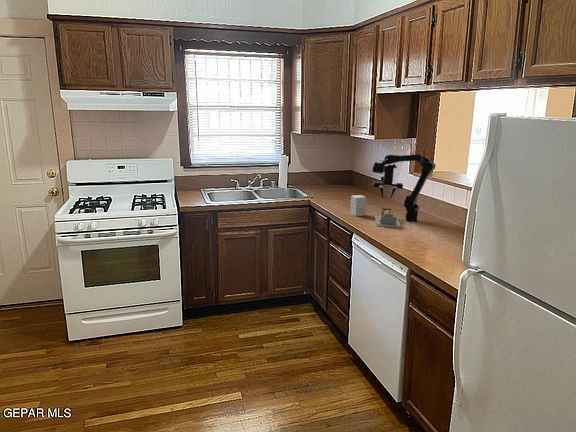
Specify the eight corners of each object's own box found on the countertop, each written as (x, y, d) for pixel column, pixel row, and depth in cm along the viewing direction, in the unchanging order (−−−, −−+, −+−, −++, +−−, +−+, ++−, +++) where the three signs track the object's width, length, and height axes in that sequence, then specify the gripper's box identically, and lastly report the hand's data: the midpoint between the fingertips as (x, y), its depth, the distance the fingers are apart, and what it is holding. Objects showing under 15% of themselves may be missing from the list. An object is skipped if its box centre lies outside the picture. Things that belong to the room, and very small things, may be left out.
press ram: (391, 215, 284) (392, 208, 283) (392, 218, 277) (393, 211, 276) (380, 215, 285) (380, 207, 284) (381, 218, 278) (381, 210, 276)
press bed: (396, 218, 285) (397, 209, 283) (400, 227, 263) (401, 217, 262) (374, 217, 286) (375, 208, 285) (376, 226, 265) (377, 216, 263)
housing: (392, 223, 267) (393, 212, 265) (383, 222, 267) (384, 211, 266) (391, 221, 271) (392, 210, 270) (383, 220, 272) (384, 209, 270)
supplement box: (359, 213, 296) (360, 194, 293) (365, 215, 289) (366, 197, 286) (349, 213, 293) (351, 195, 290) (355, 216, 287) (356, 197, 283)
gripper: (402, 173, 290) (400, 196, 294) (373, 171, 293) (371, 195, 296) (404, 175, 279) (401, 200, 283) (374, 174, 282) (372, 198, 286)
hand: (386, 198), depth 287 cm, fingers open, 5 cm apart
